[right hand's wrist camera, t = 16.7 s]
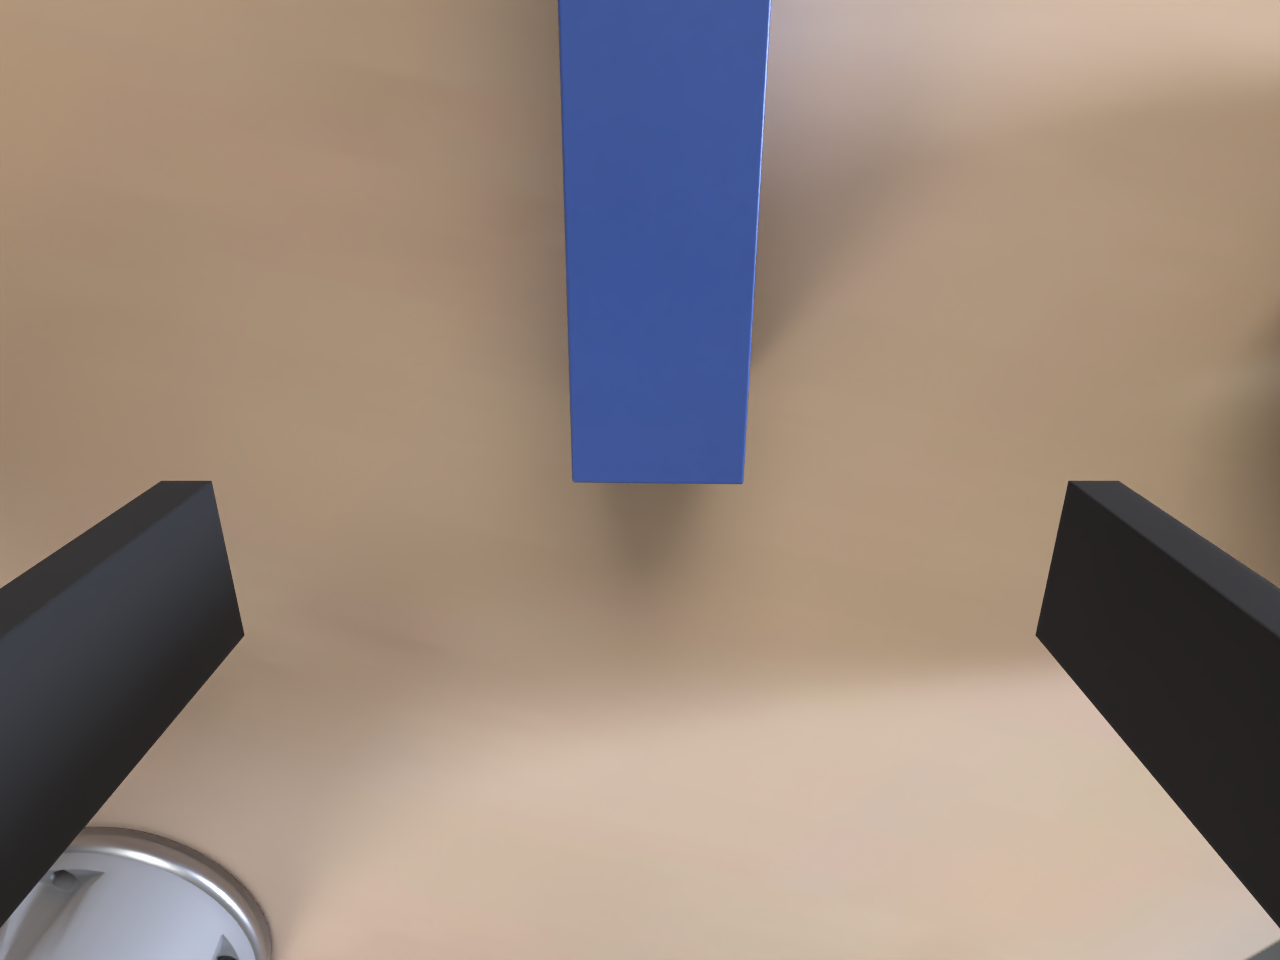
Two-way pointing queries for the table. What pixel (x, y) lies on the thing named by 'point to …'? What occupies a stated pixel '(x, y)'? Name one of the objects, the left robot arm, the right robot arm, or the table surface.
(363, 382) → the table surface
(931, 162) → the table surface
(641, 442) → the bar
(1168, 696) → the right robot arm
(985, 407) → the table surface
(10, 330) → the table surface
